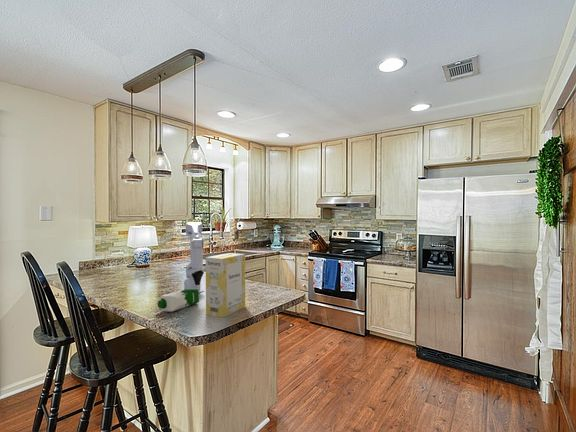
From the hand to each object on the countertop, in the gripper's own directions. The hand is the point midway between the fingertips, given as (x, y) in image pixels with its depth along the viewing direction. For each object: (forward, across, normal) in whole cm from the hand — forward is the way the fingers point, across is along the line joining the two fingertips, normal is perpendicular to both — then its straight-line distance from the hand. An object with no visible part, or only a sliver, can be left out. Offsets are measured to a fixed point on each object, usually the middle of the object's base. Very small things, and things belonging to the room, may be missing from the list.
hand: (197, 284), depth 164 cm
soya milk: (+6, -1, +1) cm, 6 cm away
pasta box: (+10, -6, -22) cm, 25 cm away
